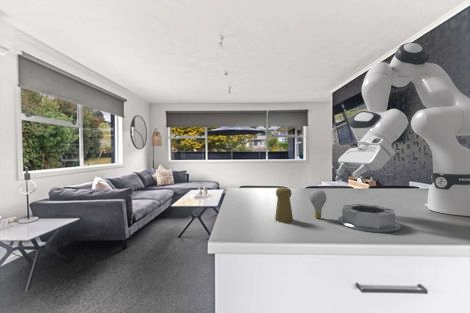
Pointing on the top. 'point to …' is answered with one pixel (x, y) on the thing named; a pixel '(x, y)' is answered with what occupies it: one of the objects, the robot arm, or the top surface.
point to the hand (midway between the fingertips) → (345, 175)
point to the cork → (283, 205)
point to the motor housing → (369, 218)
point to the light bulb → (318, 201)
